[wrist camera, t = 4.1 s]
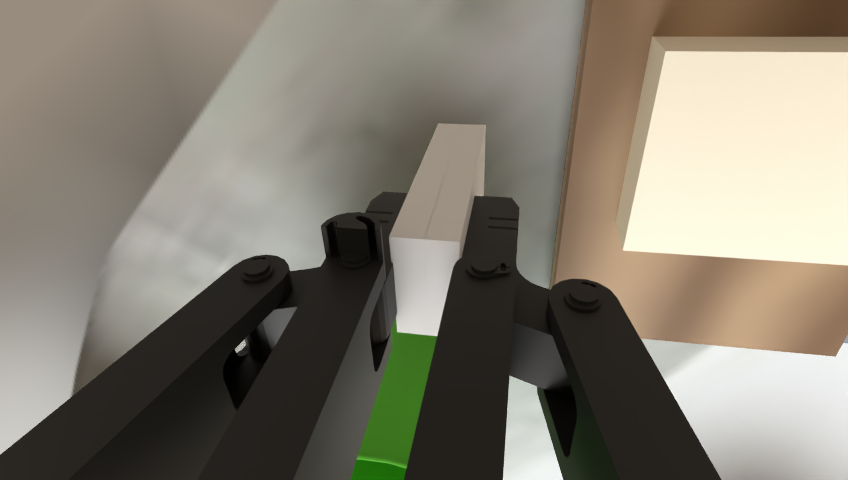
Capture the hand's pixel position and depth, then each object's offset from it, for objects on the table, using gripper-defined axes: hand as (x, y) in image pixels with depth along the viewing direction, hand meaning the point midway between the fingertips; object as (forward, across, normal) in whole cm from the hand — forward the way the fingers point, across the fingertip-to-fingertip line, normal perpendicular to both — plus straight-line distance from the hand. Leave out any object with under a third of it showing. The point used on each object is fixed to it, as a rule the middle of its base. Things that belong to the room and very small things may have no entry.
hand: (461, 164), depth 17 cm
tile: (+3, +10, 0) cm, 11 cm away
